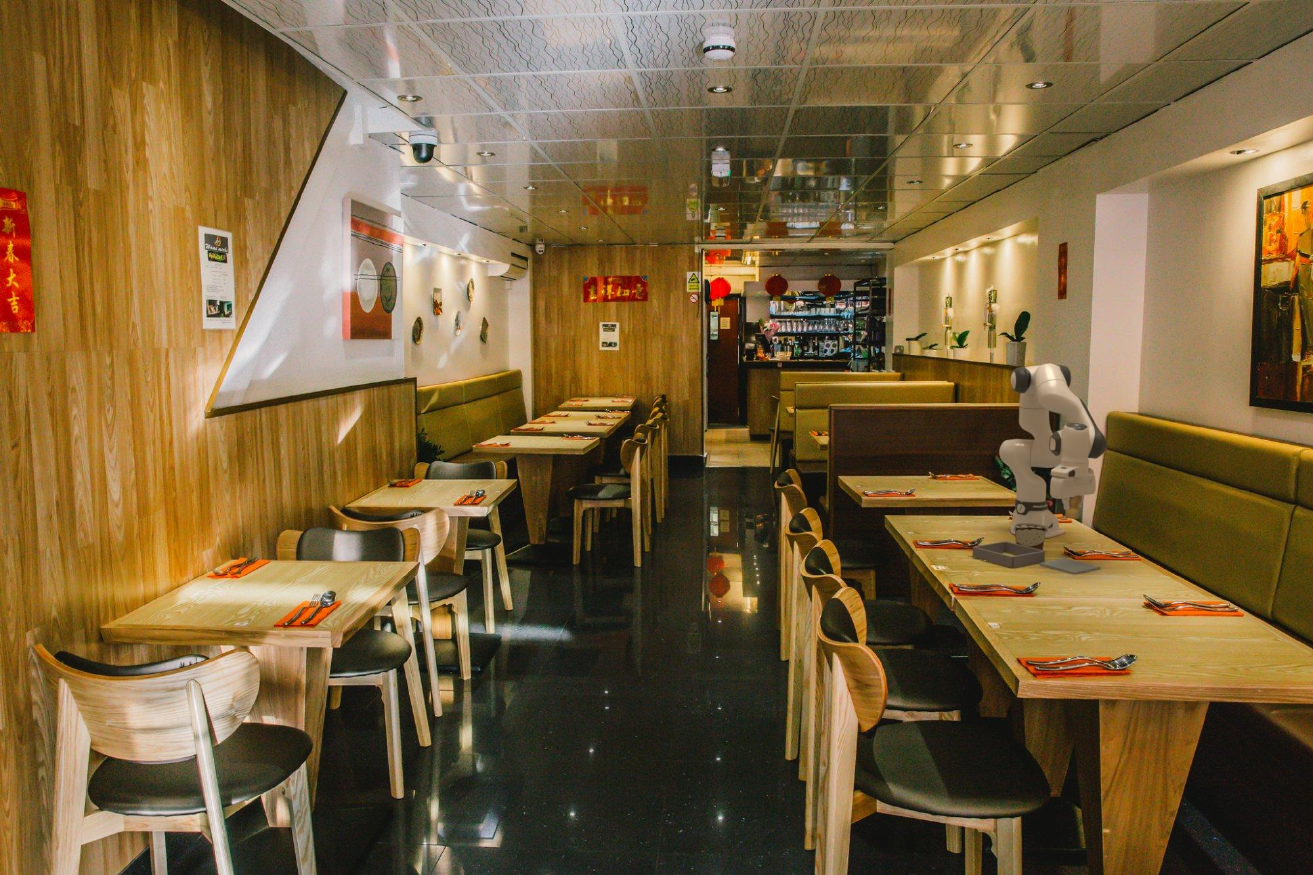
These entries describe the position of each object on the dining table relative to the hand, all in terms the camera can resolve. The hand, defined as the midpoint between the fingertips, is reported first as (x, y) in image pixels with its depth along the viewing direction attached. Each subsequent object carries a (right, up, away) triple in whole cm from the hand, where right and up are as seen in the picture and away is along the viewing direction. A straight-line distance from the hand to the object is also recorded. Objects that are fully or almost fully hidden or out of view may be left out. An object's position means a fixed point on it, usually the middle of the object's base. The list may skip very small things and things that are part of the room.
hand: (1072, 508), depth 311 cm
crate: (-17, -20, +13) cm, 29 cm away
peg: (0, -3, 0) cm, 3 cm away
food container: (-5, -18, +27) cm, 33 cm away
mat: (0, -21, +2) cm, 21 cm away
